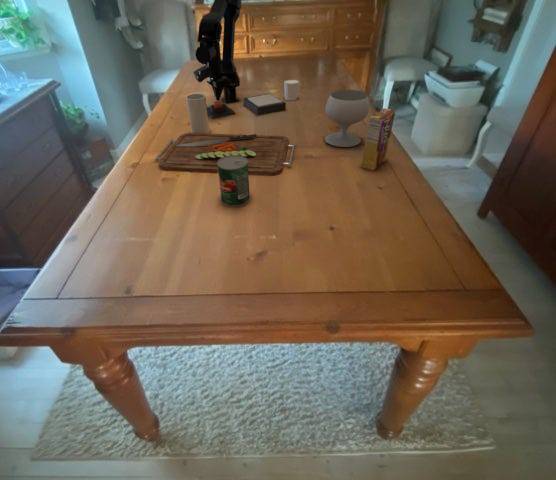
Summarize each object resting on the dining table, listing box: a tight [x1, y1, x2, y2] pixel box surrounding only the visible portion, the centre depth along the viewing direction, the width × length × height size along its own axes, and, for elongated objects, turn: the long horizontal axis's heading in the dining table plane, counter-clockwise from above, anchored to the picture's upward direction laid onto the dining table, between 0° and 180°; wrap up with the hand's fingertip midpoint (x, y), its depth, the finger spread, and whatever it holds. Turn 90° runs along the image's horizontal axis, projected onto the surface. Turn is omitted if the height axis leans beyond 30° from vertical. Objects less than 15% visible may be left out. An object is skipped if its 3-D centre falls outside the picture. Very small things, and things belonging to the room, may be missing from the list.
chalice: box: [324, 89, 370, 148], centre depth 116 cm, size 14×14×15 cm
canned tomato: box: [217, 155, 251, 208], centre depth 92 cm, size 8×8×11 cm
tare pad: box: [207, 103, 236, 119], centre depth 147 cm, size 12×10×2 cm
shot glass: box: [283, 79, 300, 101], centre depth 155 cm, size 7×7×7 cm
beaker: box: [185, 93, 211, 134], centre depth 127 cm, size 7×7×13 cm
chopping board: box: [154, 132, 296, 176], centre depth 116 cm, size 45×27×3 cm, turn 80°
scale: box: [242, 92, 287, 117], centre depth 148 cm, size 15×13×3 cm
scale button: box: [213, 100, 224, 108], centre depth 146 cm, size 4×4×2 cm
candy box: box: [361, 107, 396, 171], centre depth 103 cm, size 9×4×15 cm, turn 140°
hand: (217, 100), depth 145 cm, fingers closed
